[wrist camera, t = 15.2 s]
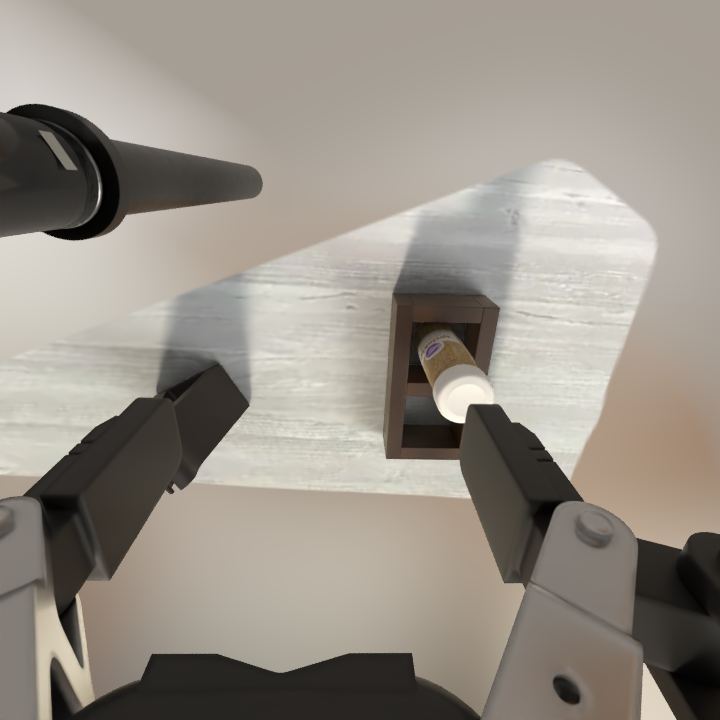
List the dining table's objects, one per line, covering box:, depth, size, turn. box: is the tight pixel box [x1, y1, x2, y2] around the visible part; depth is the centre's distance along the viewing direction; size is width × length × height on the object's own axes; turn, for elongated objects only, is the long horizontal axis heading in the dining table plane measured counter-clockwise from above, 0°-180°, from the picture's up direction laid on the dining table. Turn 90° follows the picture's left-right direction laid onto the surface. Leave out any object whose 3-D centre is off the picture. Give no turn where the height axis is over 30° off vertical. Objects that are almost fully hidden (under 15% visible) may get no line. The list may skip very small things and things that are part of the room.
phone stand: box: [154, 364, 249, 494], centre depth 39 cm, size 9×6×12 cm, turn 116°
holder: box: [383, 293, 500, 460], centre depth 42 cm, size 10×18×4 cm, turn 178°
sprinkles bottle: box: [413, 322, 494, 423], centre depth 36 cm, size 5×5×13 cm
